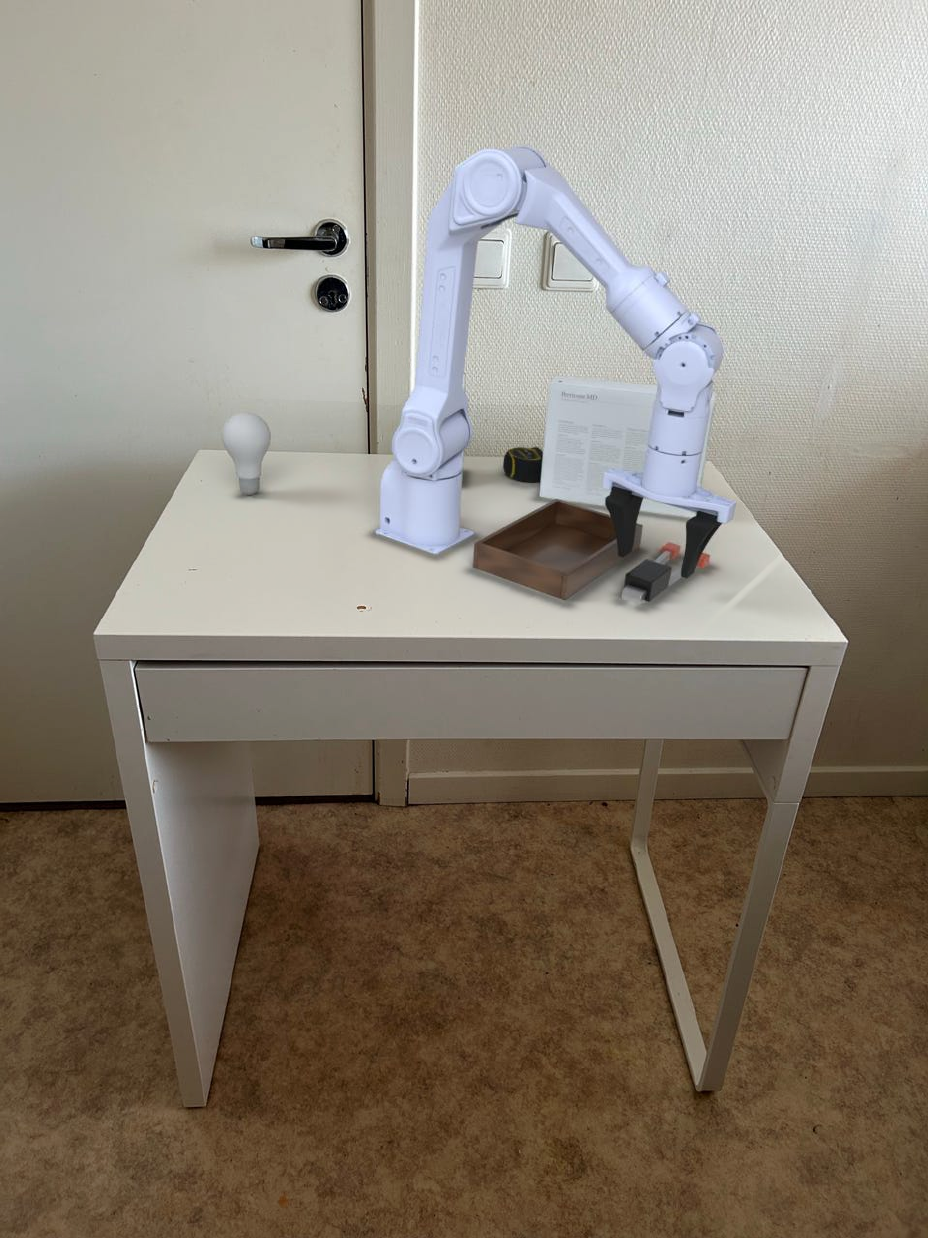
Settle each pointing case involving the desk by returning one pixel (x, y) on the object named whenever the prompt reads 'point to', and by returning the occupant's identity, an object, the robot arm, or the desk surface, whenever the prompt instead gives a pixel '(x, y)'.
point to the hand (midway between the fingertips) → (655, 564)
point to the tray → (553, 549)
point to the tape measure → (523, 464)
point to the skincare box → (599, 438)
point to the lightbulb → (247, 447)
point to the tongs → (655, 575)
